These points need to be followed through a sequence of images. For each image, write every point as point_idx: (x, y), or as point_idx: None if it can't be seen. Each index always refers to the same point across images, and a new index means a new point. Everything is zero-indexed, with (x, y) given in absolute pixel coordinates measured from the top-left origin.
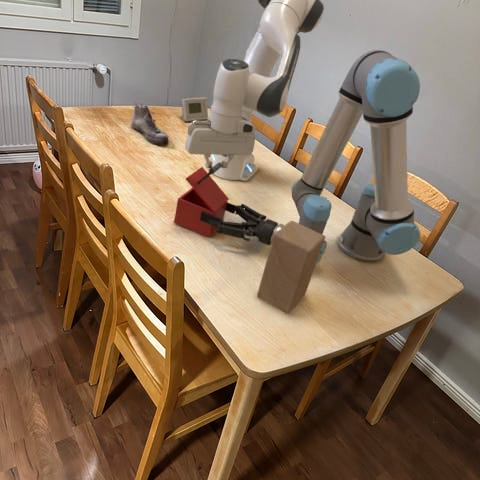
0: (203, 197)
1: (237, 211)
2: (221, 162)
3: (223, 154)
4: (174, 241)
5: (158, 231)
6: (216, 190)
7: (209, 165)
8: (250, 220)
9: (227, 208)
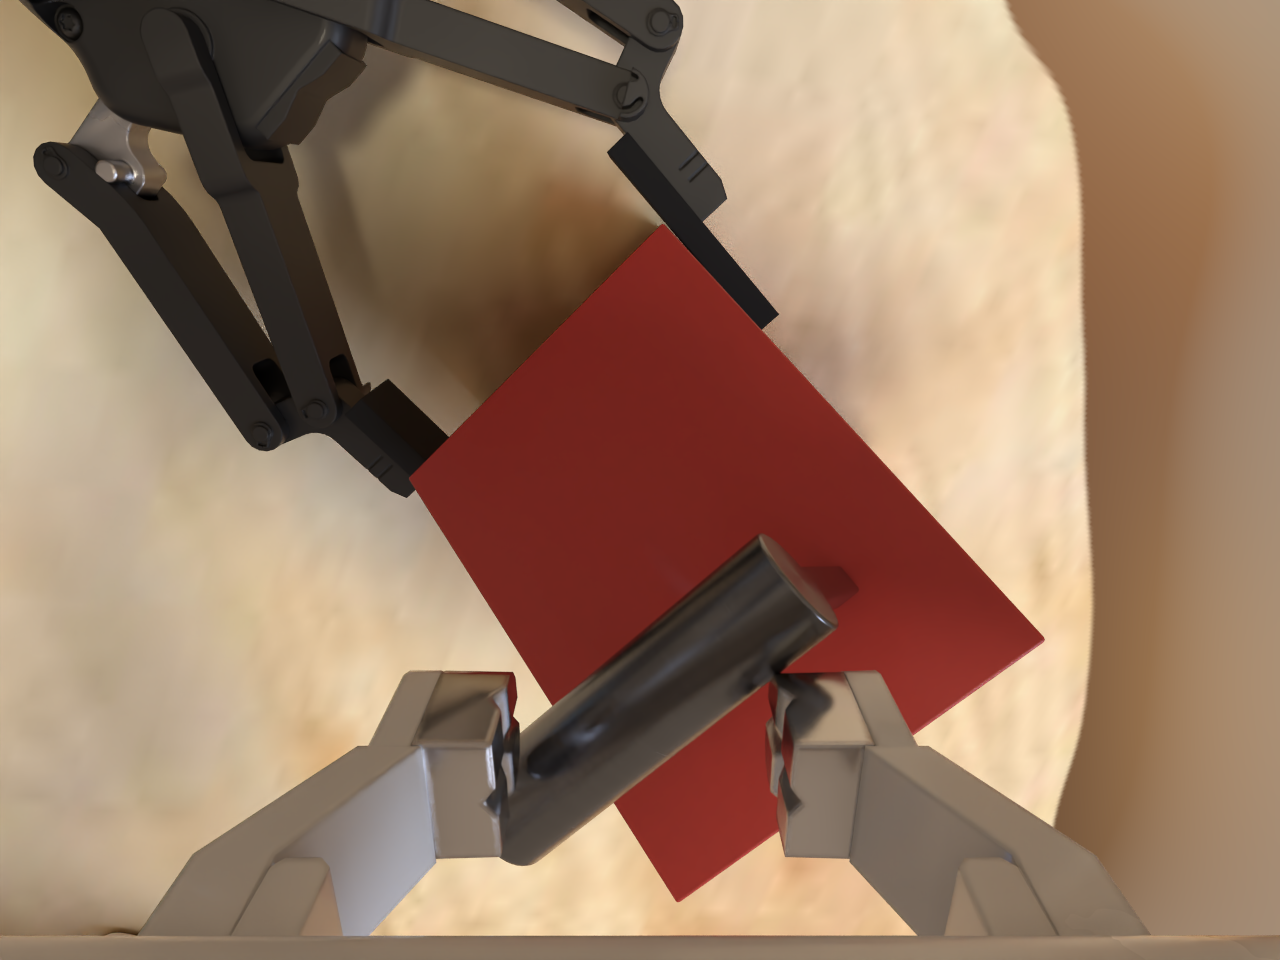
0: (802, 376)
1: (345, 380)
2: (508, 818)
3: (552, 939)
4: (961, 214)
5: (1019, 367)
6: (552, 549)
7: (853, 703)
8: (261, 99)
9: (434, 439)
